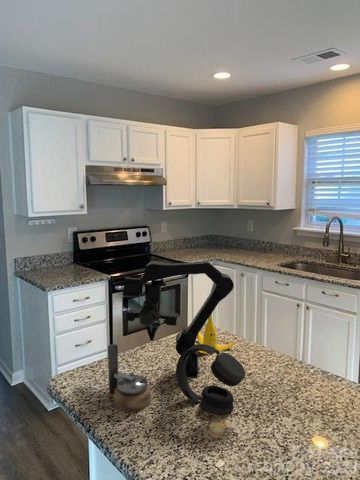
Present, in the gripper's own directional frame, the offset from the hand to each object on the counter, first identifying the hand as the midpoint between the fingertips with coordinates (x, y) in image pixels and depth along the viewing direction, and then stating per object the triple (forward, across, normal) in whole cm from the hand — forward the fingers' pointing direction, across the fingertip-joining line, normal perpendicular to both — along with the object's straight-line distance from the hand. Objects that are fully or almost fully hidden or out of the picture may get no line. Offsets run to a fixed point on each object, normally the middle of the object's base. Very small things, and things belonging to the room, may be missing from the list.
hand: (152, 340), depth 129 cm
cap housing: (+13, -2, -19) cm, 23 cm away
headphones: (+12, +24, -15) cm, 31 cm away
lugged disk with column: (+12, -2, -18) cm, 22 cm away
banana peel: (+12, +16, +29) cm, 35 cm away
